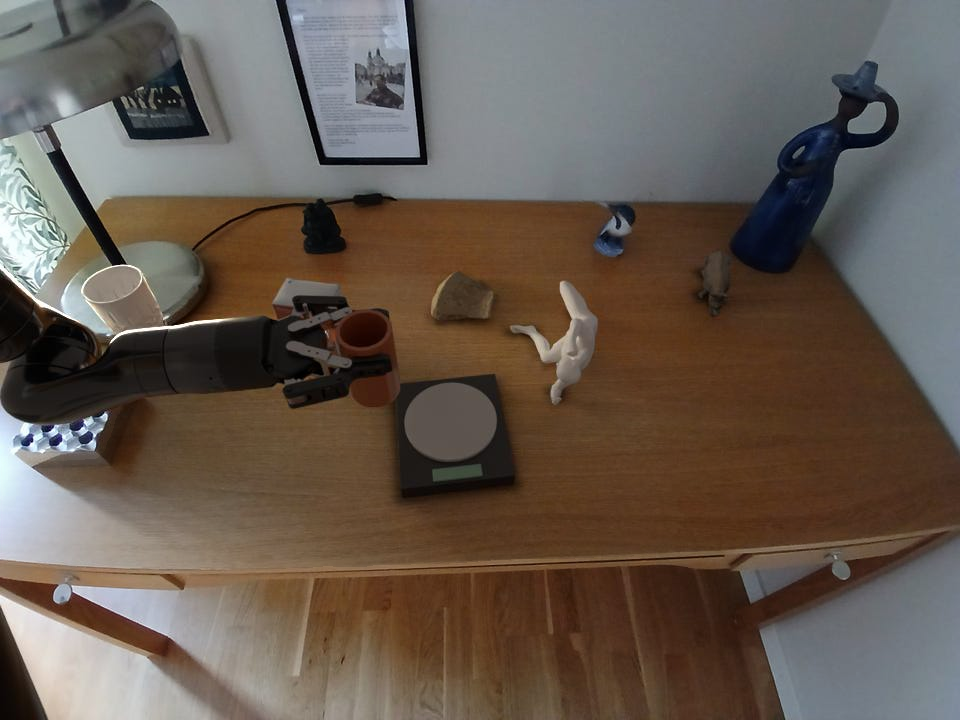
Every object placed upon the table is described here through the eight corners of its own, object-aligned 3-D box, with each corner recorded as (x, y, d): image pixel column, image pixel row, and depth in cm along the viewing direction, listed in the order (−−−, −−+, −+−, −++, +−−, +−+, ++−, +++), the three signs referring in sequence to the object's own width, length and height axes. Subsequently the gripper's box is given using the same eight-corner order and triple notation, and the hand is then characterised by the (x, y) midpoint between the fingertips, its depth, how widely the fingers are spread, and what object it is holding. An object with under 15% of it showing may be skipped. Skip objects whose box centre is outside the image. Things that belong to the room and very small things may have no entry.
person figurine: (518, 266, 80) (575, 339, 67) (594, 265, 85) (661, 332, 72) (501, 340, 88) (549, 418, 75) (571, 335, 92) (628, 407, 79)
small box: (289, 354, 83) (269, 303, 75) (302, 327, 87) (285, 276, 79) (340, 361, 82) (326, 311, 74) (352, 333, 86) (339, 283, 78)
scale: (514, 484, 70) (515, 473, 68) (402, 498, 69) (400, 486, 66) (494, 384, 80) (495, 370, 78) (396, 394, 79) (394, 381, 76)
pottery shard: (430, 326, 89) (488, 329, 85) (422, 305, 86) (483, 306, 82) (452, 285, 96) (507, 286, 92) (445, 264, 93) (502, 264, 90)
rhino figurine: (695, 325, 88) (708, 297, 83) (697, 269, 96) (708, 241, 92) (722, 330, 87) (736, 303, 83) (721, 273, 96) (734, 246, 91)
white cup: (109, 329, 86) (74, 280, 78) (160, 306, 89) (131, 257, 82) (127, 359, 82) (91, 311, 74) (179, 334, 85) (151, 286, 78)
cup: (401, 405, 63) (392, 347, 55) (351, 410, 63) (334, 353, 55) (399, 366, 67) (390, 307, 59) (351, 371, 66) (335, 312, 58)
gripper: (199, 389, 50) (389, 370, 51) (223, 281, 59) (384, 267, 60) (227, 434, 55) (397, 415, 57) (245, 329, 64) (391, 315, 66)
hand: (389, 339), depth 59 cm, fingers closed on cup, 5 cm apart
